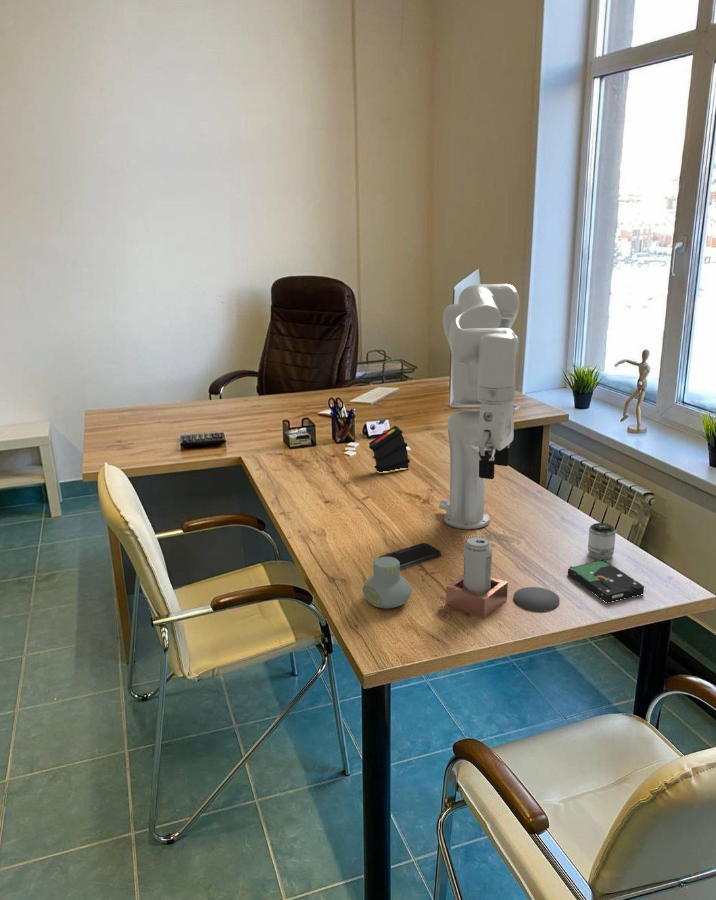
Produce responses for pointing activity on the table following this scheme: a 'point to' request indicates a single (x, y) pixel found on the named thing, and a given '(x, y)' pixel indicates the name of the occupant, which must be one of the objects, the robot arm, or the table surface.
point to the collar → (476, 597)
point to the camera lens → (601, 541)
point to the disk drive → (605, 580)
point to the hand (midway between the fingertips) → (494, 471)
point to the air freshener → (386, 584)
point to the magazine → (390, 450)
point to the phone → (414, 555)
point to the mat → (536, 599)
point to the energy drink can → (477, 565)
